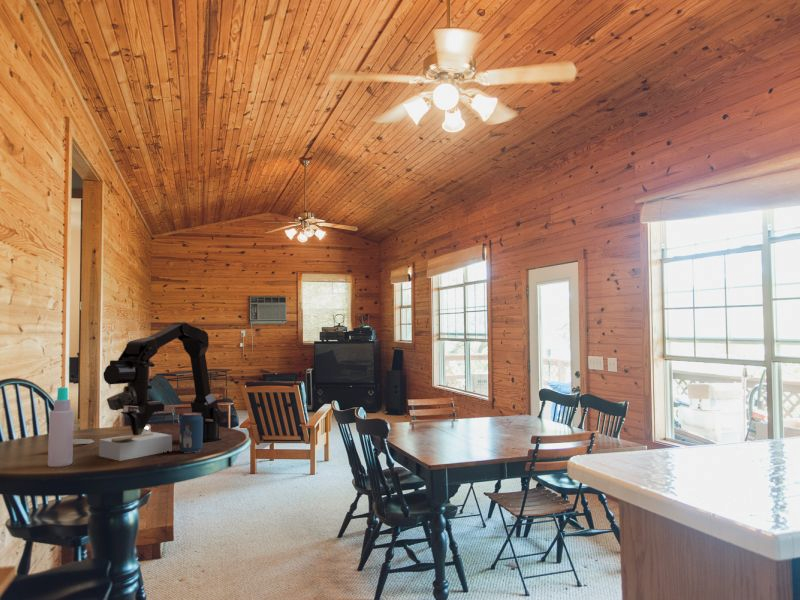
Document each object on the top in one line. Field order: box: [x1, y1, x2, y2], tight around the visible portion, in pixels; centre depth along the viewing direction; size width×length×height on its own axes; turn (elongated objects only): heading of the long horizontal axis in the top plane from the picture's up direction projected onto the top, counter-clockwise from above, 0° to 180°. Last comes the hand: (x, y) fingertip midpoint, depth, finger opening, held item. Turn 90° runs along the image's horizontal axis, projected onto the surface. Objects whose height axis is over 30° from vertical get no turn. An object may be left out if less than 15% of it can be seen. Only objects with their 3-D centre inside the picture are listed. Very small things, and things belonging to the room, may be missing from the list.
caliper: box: [73, 438, 95, 445], centre depth 183 cm, size 20×1×6 cm, turn 174°
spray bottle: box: [47, 387, 75, 468], centre depth 159 cm, size 6×6×22 cm
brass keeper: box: [114, 433, 153, 441], centre depth 165 cm, size 6×11×1 cm, turn 56°
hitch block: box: [98, 431, 173, 462], centre depth 174 cm, size 17×12×6 cm
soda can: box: [179, 411, 204, 454], centre depth 177 cm, size 7×7×12 cm
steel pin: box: [132, 424, 152, 436], centre depth 178 cm, size 5×5×8 cm
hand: (136, 435), depth 164 cm, fingers closed
